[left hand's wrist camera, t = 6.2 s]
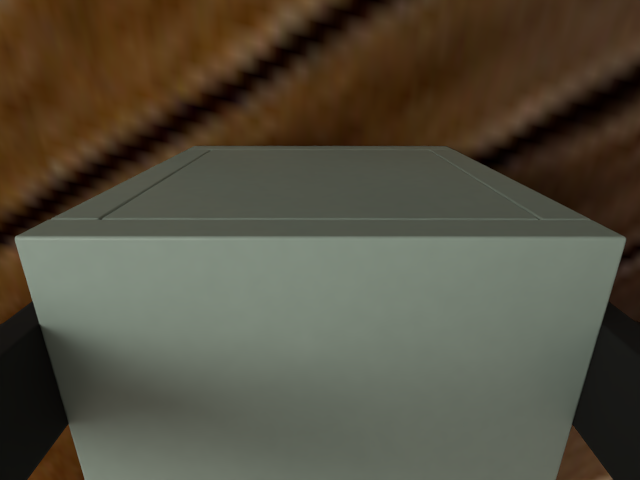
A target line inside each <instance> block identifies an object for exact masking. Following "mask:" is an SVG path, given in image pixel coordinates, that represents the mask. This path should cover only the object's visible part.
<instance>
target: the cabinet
mask: <svg viewBox="0 0 640 480" xmlns="http://www.w3.org/2000/svg"><path fill="white" fill-rule="evenodd" d="M15 242H16V245H17V249H18V252H19V256H20V259H21V263H22V266H23V269H24V273H25V276H26V280H27V283H28V287H29V290H30V293H31V297H32V300H33V304H34V307H35V310H36V314H37V317H38V321H39V324H40V328H41V331H42V334H43V338H44V341H45V345H46V348H47V351H48V355H49V358H50V362H51V365H52V369H53V372H54V375H55V379H56V382H57V386H58V389H59V392H60V396H61V399H62V403H63V406H64V410H65V413H66V416H67V420H68V423H69V427H70V430H71V434H72V437H73V440H74V444H75V447H76V451H77V454H78V457H79V461H80V464H81V468H82V471H83V475H84V478H85V480H556V477H557V474H558V470H559V467H560V463H561V460H562V457H563V453H564V450H565V446H566V443H567V440H568V436H569V433H570V430H571V426H572V423H573V419H574V416H575V413H576V409H577V406H578V402H579V399H580V396H581V392H582V389H583V385H584V382H585V379H586V375H587V372H588V368H589V365H590V362H591V358H592V355H593V351H594V348H595V345H596V341H597V338H598V334H599V331H600V328H601V324H602V321H603V318H604V314H605V311H606V307H607V304H608V301H609V297H610V294H611V290H612V287H613V284H614V280H615V277H616V273H617V270H618V267H619V263H620V260H621V256H622V253H623V250H624V246H625V243H626V238H625V237H624V236H622V235H620V234H618V233H616V232H614V231H612V230H610V229H608V228H606V227H604V226H602V225H600V224H599V223H597V222H595V221H592V220H590V219H589V218H587V217H585V216H583V215H581V214H579V213H577V212H575V211H573V210H571V209H569V208H567V207H565V206H563V205H561V204H559V203H558V202H556V201H554V200H552V199H550V198H548V197H546V196H544V195H542V194H540V193H538V192H536V191H534V190H532V189H530V188H528V187H526V186H524V185H522V184H520V183H518V182H516V181H514V180H512V179H510V178H508V177H506V176H504V175H502V174H500V173H499V172H497V171H495V170H493V169H491V168H489V167H487V166H485V165H483V164H481V163H479V162H477V161H475V160H473V159H471V158H469V157H467V156H465V155H463V154H461V153H459V152H457V151H455V150H453V149H451V148H449V147H447V146H194V147H192V148H190V149H188V150H186V151H184V152H182V153H180V154H178V155H176V156H174V157H172V158H170V159H168V160H166V161H164V162H162V163H160V164H158V165H156V166H154V167H152V168H150V169H148V170H146V171H145V172H143V173H141V174H139V175H137V176H135V177H133V178H131V179H129V180H127V181H125V182H123V183H121V184H119V185H117V186H115V187H113V188H111V189H109V190H107V191H105V192H103V193H101V194H99V195H97V196H95V197H93V198H91V199H89V200H87V201H85V202H84V203H82V204H80V205H78V206H76V207H74V208H72V209H70V210H68V211H66V212H64V213H62V214H60V215H58V216H56V217H54V218H52V219H51V220H48V221H46V222H44V223H42V224H40V225H38V226H36V227H34V228H32V229H30V230H28V231H26V232H24V233H22V234H20V235H18V236H16V237H15Z"/></svg>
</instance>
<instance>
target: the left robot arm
mask: <svg viewBox="0 0 640 480" xmlns="http://www.w3.org/2000/svg"><path fill="white" fill-rule="evenodd" d="M68 424H69V423H68V420H67V416H66V413H65V410H64V406H63V403H62V399H61V396H60V392H59V389H58V386H57V382H56V379H55V375H54V372H53V369H52V365H51V362H50V358H49V355H48V351H47V348H46V345H45V341H44V338H43V334H42V331H41V328H40V324H39V321H38V317H37V314H36V310H35V307H34V304H33V301H32V302H31V303H29V304H28V305H27V306H26V307H24V308H23V309H22V310H20V311H19V312H18V313H16V314H15V315H14V316H12V317H11V318H10V319H8V320H7V321H6V322H4V323H2V324H0V480H27V479H28V478H29V476H30V475H31V474H32V472H33V471H34V470H35V468H36V467H37V466H38V464H39V463H40V461H41V460H42V459H43V457H44V456H45V455H46V453H47V452H48V451H49V449H50V448H51V447H52V445H53V444H54V443H55V441H56V440H57V438H58V437H59V436H60V434H61V433H62V432H63V430H64V429H65V428H66V426H67V425H68ZM572 424H573V426H574V427H575V428H576V430H577V431H578V432H579V434H580V435H581V436H582V438H583V439H584V441H585V442H586V443H587V445H588V446H589V447H590V449H591V450H592V451H593V453H594V454H595V455H596V457H597V458H598V459H599V461H600V462H601V464H602V465H603V466H604V468H605V469H606V470H607V472H608V473H609V474H610V476H611V477H612V478H613V480H640V322H635V321H633V320H632V319H631V318H629V317H628V316H627V315H626V314H624V313H623V312H622V311H620V310H619V309H618V308H616V307H615V306H614V305H612V304H611V303H610V302H608V304H607V307H606V311H605V314H604V318H603V321H602V324H601V328H600V331H599V334H598V338H597V341H596V345H595V348H594V351H593V355H592V358H591V362H590V365H589V368H588V372H587V375H586V379H585V382H584V385H583V389H582V392H581V396H580V399H579V402H578V406H577V409H576V413H575V416H574V419H573V423H572Z"/></svg>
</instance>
